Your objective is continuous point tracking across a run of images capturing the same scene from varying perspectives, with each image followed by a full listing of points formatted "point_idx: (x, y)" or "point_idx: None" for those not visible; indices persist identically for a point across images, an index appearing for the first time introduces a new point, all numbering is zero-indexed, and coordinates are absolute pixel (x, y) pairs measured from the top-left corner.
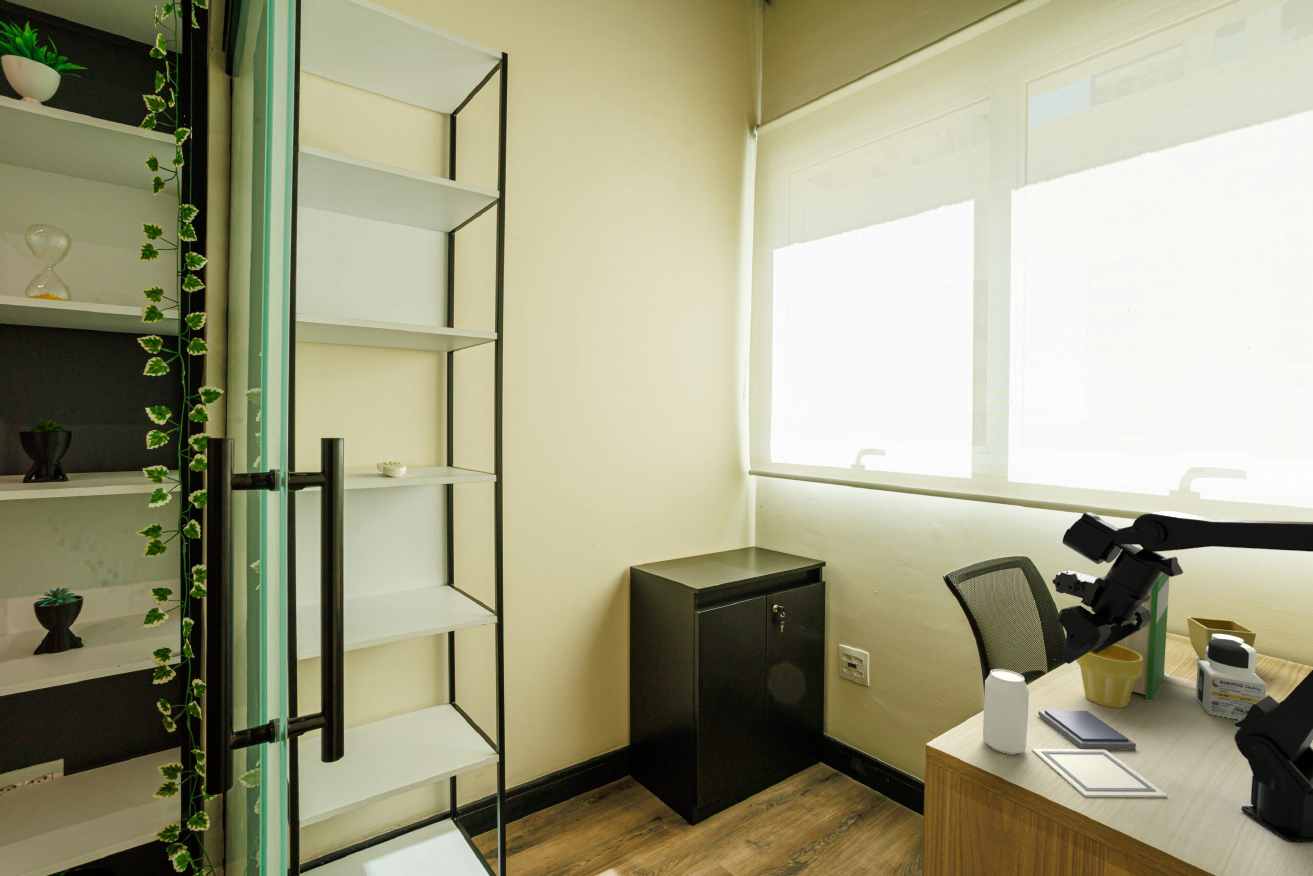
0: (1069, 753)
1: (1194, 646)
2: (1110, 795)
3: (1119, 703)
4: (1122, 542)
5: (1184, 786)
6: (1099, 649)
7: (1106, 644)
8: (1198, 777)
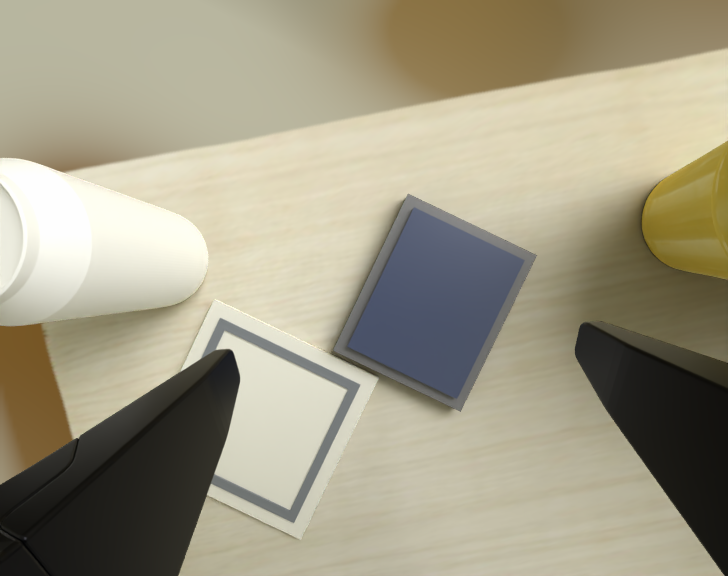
0: (273, 353)
1: None
2: None
3: (679, 267)
4: None
5: (384, 531)
6: (599, 383)
7: (646, 446)
8: (456, 528)
